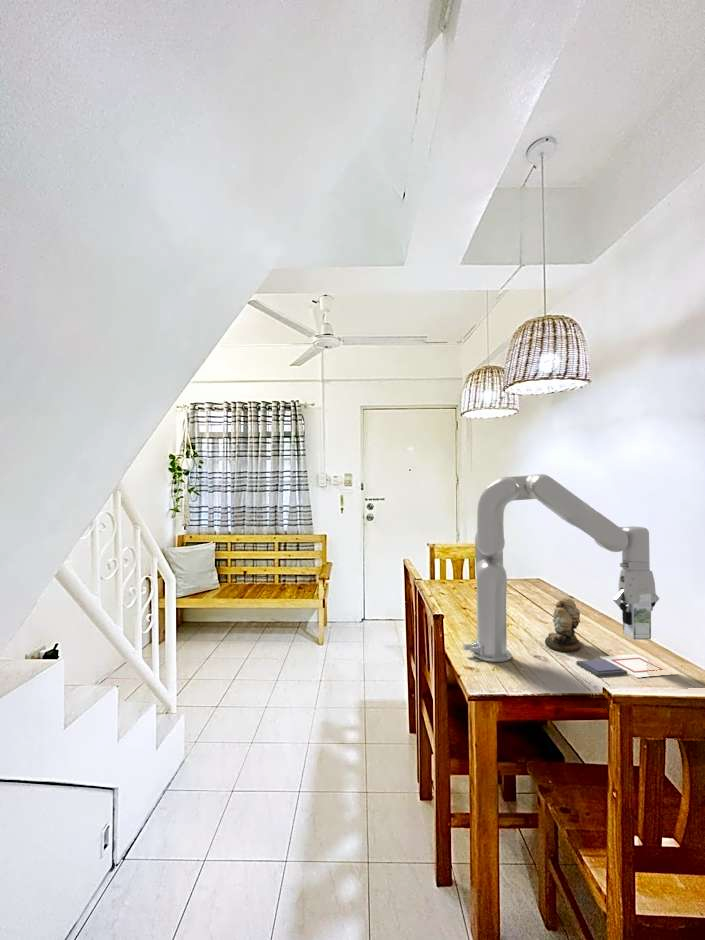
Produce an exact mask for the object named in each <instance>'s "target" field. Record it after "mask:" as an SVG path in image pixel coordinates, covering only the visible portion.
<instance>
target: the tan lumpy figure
mask: <svg viewBox="0 0 705 940" xmlns="http://www.w3.org/2000/svg"><path fill="white" fill-rule="evenodd" d="M580 615H581V613H580V610H579V609H578V608H577V604H576V603H575V601H574V600H573V599H572V598H570V597H567V596H562V597H560V599H559V600H557V602H556V603H555V609H554V611H553V615H552V616H553V619H552V622H553V625H554V631H555V633H554V632H551V633H548V635H547V637H546V638H545V640H544V644H545V646H546V647H547V648H549V649H550V650H553V651H554V652H558V653H565V654H574V653H577V652H579V651H580V650H581V648H582V644H581V641H580V640H579V639H578V638H577V636H576V631H575V629H577V628H578V627H579V623H581V620H580V619H581V618H580V617H581V616H580Z"/></svg>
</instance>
